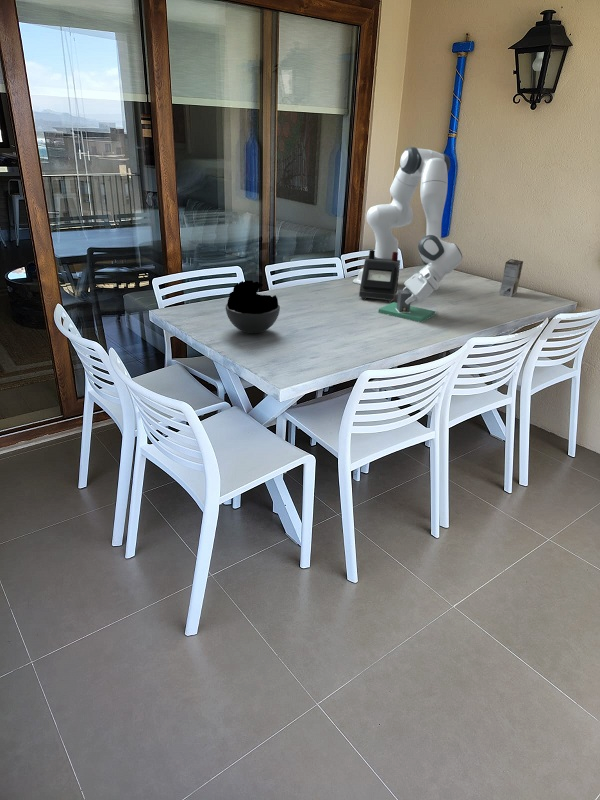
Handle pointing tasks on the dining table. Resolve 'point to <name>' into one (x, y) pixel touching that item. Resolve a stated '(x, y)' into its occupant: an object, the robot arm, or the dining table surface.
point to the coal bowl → (251, 308)
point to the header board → (413, 314)
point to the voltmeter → (380, 277)
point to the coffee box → (511, 277)
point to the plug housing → (403, 300)
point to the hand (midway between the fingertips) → (402, 299)
